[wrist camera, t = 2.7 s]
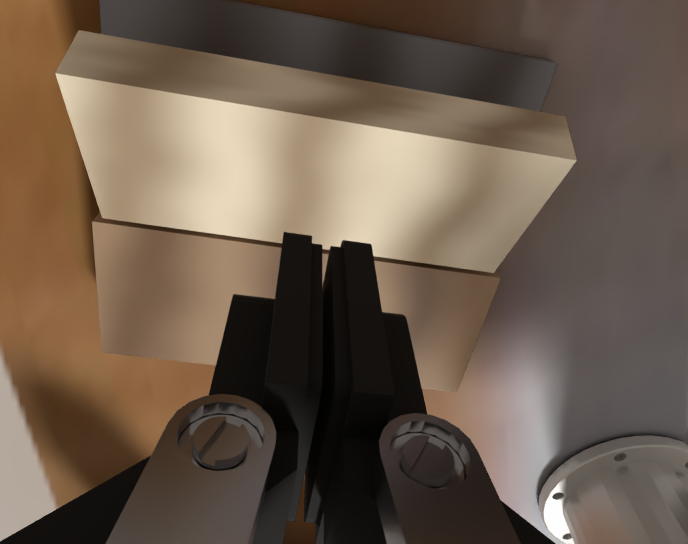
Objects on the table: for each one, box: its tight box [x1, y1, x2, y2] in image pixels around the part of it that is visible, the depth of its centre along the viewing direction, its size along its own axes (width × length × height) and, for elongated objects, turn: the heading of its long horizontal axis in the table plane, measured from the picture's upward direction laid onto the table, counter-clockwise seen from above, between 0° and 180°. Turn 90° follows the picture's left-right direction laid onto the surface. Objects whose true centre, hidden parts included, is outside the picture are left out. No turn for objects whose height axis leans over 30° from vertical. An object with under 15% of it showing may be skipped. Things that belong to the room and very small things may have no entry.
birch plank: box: [55, 30, 577, 273], centre depth 24 cm, size 19×8×2 cm, turn 80°
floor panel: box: [92, 0, 557, 392], centre depth 27 cm, size 20×18×3 cm
